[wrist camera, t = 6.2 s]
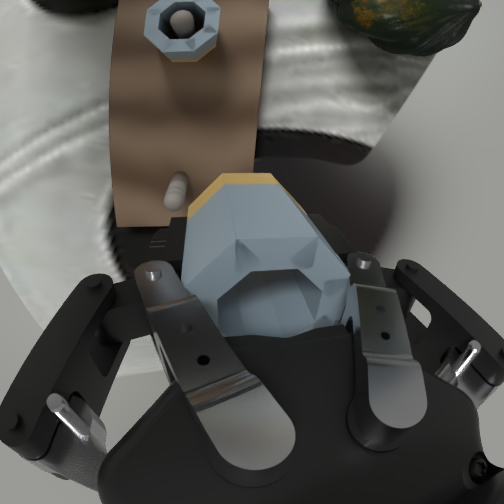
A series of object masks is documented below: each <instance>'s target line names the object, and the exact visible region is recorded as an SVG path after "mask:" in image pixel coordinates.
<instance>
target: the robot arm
mask: <svg viewBox="0 0 504 504" xmlns="http://www.w3.org/2000/svg"><path fill="white" fill-rule="evenodd" d="M307 216H308V217H309V218H310V220H311V221H312V222H313V224H314V225H315V226H316V228H317V229H318V230H319V231H320V233H321V234H322V235H323V237H324V238H325V240H326V241H327V242H328V244H329V245H330V246H331V248H332V249H333V250H334V252H335V253H336V254H337V255H338V256H339V258H340V259H341V261H342V262H343V263H344V265H345V266H346V267H347V270H348V272H349V273H350V275H349V277H348V281H347V284H346V305H345V308H344V311H343V314H342V316H341V319H340V320H336V321H335V322H334V325H333V326H327V327H319V328H315V329H312V330H309V331H307V332H304V333H301V334H298V335H295V336H292V337H289V338H281V337H271V336H261V335H243V336H229V337H223V335H222V334H221V332H220V331H219V329H218V328H217V326H216V325H215V323H214V322H213V320H212V319H211V317H210V316H209V314H208V313H207V311H206V309H205V308H204V306H203V305H202V303H201V302H200V300H199V299H198V297H197V296H196V295H195V294H194V295H190V296H189V295H188V293H187V291H186V290H185V288H184V286H183V285H182V283H181V275H182V263H183V253H184V243H185V234H186V225H187V217H171V220H170V225H169V228H161V229H159V230H158V231H157V232H156V233H155V234H154V235H153V238H152V242H151V245H150V248H149V252H148V255H147V259H146V262H145V263H144V264H142V265H140V266H139V267H138V268H137V269H136V270H135V273H134V278H132V279H130V280H127V281H123V282H119V283H115V284H113V280H112V278H111V277H110V276H108V275H106V274H93V275H90V276H88V277H86V278H84V279H83V280H81V281H80V282H79V284H78V285H77V286H76V287H75V289H74V290H73V291H72V293H71V294H70V295H69V297H68V298H67V299H66V301H65V302H64V303H63V305H62V306H61V308H60V309H59V310H58V312H57V313H56V314H55V316H54V317H53V319H52V320H51V322H50V323H49V324H48V326H47V327H46V329H45V330H44V332H43V334H42V335H41V336H40V338H39V339H38V341H37V342H36V344H35V346H34V347H33V349H32V350H31V352H30V354H29V355H28V357H27V358H26V360H25V362H24V363H23V365H22V367H21V368H20V370H19V372H18V374H17V376H16V377H15V379H14V381H13V383H12V384H11V386H10V388H9V390H8V392H7V394H6V396H5V397H4V399H3V401H2V403H1V405H0V440H1V441H2V442H3V443H4V444H6V445H7V446H8V447H10V448H11V449H12V450H14V451H15V452H17V453H18V454H19V455H20V456H21V457H23V458H24V459H25V460H27V461H29V462H30V463H32V464H33V465H35V466H37V467H38V468H40V469H42V470H44V471H46V472H48V473H51V474H53V475H55V476H57V477H58V478H61V479H64V480H69V479H70V480H73V481H75V482H77V483H79V484H81V485H83V486H85V487H88V488H90V489H92V490H95V491H97V492H98V493H99V496H100V500H101V502H102V504H504V468H500V467H497V466H495V465H493V464H491V463H490V462H489V461H488V460H487V458H486V456H485V454H484V452H483V447H482V443H481V438H480V431H479V418H478V413H477V409H478V407H479V406H480V405H481V404H482V403H483V402H484V401H485V400H486V399H487V398H489V396H491V395H492V393H493V392H494V391H495V390H496V389H497V388H498V387H499V386H500V385H501V384H502V383H503V382H504V339H503V338H502V337H501V336H500V335H499V334H498V333H497V332H496V331H495V330H494V329H493V328H492V327H491V326H490V325H489V324H488V323H487V322H486V321H485V320H483V319H482V318H481V317H480V316H479V315H478V314H477V313H476V312H475V311H474V310H473V309H472V308H471V307H470V306H468V305H467V304H466V303H465V302H464V301H463V300H462V299H461V298H459V297H458V296H457V295H456V294H455V293H454V292H453V291H451V290H450V289H449V288H448V287H447V286H446V285H444V284H443V283H442V282H441V281H439V280H438V279H437V278H436V277H435V276H434V275H432V274H431V273H430V272H429V271H427V270H426V269H425V268H424V267H422V266H421V265H420V264H418V263H416V262H414V261H412V260H407V259H402V260H399V261H398V262H397V266H396V268H395V269H388V268H382V267H381V266H380V263H379V261H378V260H377V259H376V258H374V257H373V256H371V255H369V254H366V253H363V252H357V251H356V250H355V248H354V247H353V246H352V245H351V243H350V242H349V241H347V239H346V238H345V237H344V236H343V234H342V233H341V232H340V231H339V229H337V228H336V227H334V226H332V225H330V224H328V223H327V222H326V221H325V220H324V218H323V217H322V216H321V215H320V214H307ZM415 299H417V300H418V301H419V302H420V303H421V304H422V305H423V306H424V307H425V308H426V309H428V310H429V312H430V314H431V323H430V324H429V326H428V328H426V327H425V326H424V325H423V324H422V323H421V322H420V321H419V320H418V319H417V318H416V317H415V316H414V315H413V314H412V313H411V312H410V310H411V308H412V306H413V304H414V302H415ZM146 335H150V336H151V339H152V341H153V344H154V347H155V349H156V352H157V354H158V356H159V359H160V361H161V364H162V366H163V368H164V371H165V374H166V376H167V379H168V381H169V383H170V386H169V387H168V388H167V389H166V390H165V391H164V393H163V394H162V395H161V396H160V397H159V398H158V399H157V400H156V402H155V403H154V404H153V405H152V406H151V407H150V408H149V409H148V410H147V411H146V413H145V414H144V415H143V416H142V417H141V418H140V419H139V420H138V421H137V422H136V424H135V425H134V426H133V427H132V428H131V429H130V430H129V431H128V432H127V433H126V434H125V435H124V436H123V438H122V439H121V440H120V441H119V442H118V443H117V444H116V445H115V446H114V447H113V448H112V449H111V450H110V451H109V452H108V454H107V451H106V447H105V441H106V428H105V425H104V424H103V422H102V421H101V419H100V418H99V417H100V414H101V411H102V408H103V406H104V404H105V401H106V398H107V396H108V393H109V391H110V389H111V386H112V384H113V381H114V379H115V376H116V374H117V372H118V369H119V367H120V365H121V362H122V360H123V358H124V355H125V353H126V351H127V349H128V346H129V344H130V341H131V339H135V338H139V337H143V336H146Z"/></svg>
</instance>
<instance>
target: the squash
mask: <svg viewBox="0 0 504 504" xmlns="http://www.w3.org/2000/svg"><path fill="white" fill-rule="evenodd" d="M333 1H334V2H336V3H339V6H338V9H337V15H338V18H339V20H340V21H341V22H342V23H343V24H344V25H346V26H347V27H348V28H350V29H352V30H353V31H355V32H358V33H360V34H363V35H366V36H368V38H369V39H370V40H371V41H372V42H373V43H374V44H375V45H376V46H377V47H379V48H381V49H382V50H384V51H387V52H389V53H393V54H411V55H414V56H429V55H432V54H435V53H437V52H439V51H441V50H443V49H445V48H448V47H451V46H453V45H455V44H456V43H458V42H459V41H460V40H461V39H462V38H463V37H464V36H465V34H466V32H467V30H468V28H469V26H470V24H471V22H472V20H473V19H474V17H475V16H476V15H477V14H478V12H479V10H480V7H481V6H482V3H481V2H480V1H479V0H333Z"/></svg>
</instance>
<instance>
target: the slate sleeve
mask: <svg viewBox="0 0 504 504" xmlns="http://www.w3.org/2000/svg"><path fill="white" fill-rule="evenodd" d="M349 275H350V273H349V272H348V270H347V267H346V266H345V265H344V263H343V262H342V261H341V259H340V258H339V256H338V255H337V254H336V253H335V252H334V250H333V249H332V248H331V246H330V245H329V244H328V242H327V241H326V240H325V238H324V237H323V235H322V234H321V233H320V231H319V230H318V229H317V228H316V226H315V225H314V224H313V222H312V221H311V220H310V218H309V217H308V216H307V214H306V212H305V211H304V210H303V209H302V207H301V206H300V205H299V204H298V203H297V202H296V201H295V200H294V199H293V197H292V196H291V195H290V194H289V193H288V192H287V191H286V190H285V189H284V188H283V187H282V186H281V184H280V183H279V182H278V181H277V180H276V179H275V178H274V177H273V176H272V174H271V173H222V174H221V175H220V176H219V177H218V178H217V179H216V180H215V181H214V182H213V183H212V184H211V185H210V186H209V187H208V188H207V189H206V190H205V191H204V192H203V193H202V194H201V195H200V196H199V197H198V198H197V199H196V200H195V201H194V202H193V203H192V204H191V205H190V206H189V208H188V216H187V225H186V234H185V243H184V253H183V263H182V275H181V283H182V285H183V286H184V288H185V290H186V291H187V293H188V295H189V296H190V295H194V294H195V295H196V296H197V297H198V299H199V300H200V302H201V303H202V305H203V306H204V308H205V309H206V311H207V313H208V314H209V316H210V317H211V319H212V320H213V322H214V323H215V325H216V326H217V328H218V329H219V331H220V332H221V334H222V335H223V337H229V336H243V335H261V336H271V337H281V338H289V337H292V336H295V335H298V334H301V333H304V332H307V331H309V330H312V329H315V328H319V327H327V326H333V325H334V322H335V321H336V320H340V319H341V316H342V314H343V311H344V308H345V305H346V284H347V281H348V277H349Z"/></svg>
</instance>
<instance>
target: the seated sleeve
mask: <svg viewBox="0 0 504 504" xmlns="http://www.w3.org/2000/svg"><path fill="white" fill-rule="evenodd" d="M180 10H186V11H189V12H190V13H191V14H192V16H193V20H194V22H197V23H198V24H199V25H200V26H201V27H202V29H201V30H200V31H198V32H197V33H196V34H194V35H193V36H192V37H191V38H189V39H169V36H170V31H171V30H172V29H173V28H172V26H171V23H170V19H171V16H172V15H173V14H174V13H175V12H177V11H180ZM220 10H221V7H219V6H218V5H217V4H216V3H215V2H214V1H213V0H159V1H158V2H156V3H155V4H154V5H153V6H151V7H150V8H149V9H148V10H147V13H146V20H145V28H144V36H145V37H146V38H147V39H148V40H149V41H150V42H151V43H152V44H153V45H154V46H155V47H156V48H157V49H159V50H160V51H161V52H162V53H163V54H164V55H165V56H166V57H167V58H168V59H170V60H171V61H172V62H197V61H198V60H200V59H201V58H202V57H203V56H205V55H206V54H207V53H208V52H210V51H211V50H212V49H214V48H215V47H216V41H217V36H218V27H219V18H220Z"/></svg>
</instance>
